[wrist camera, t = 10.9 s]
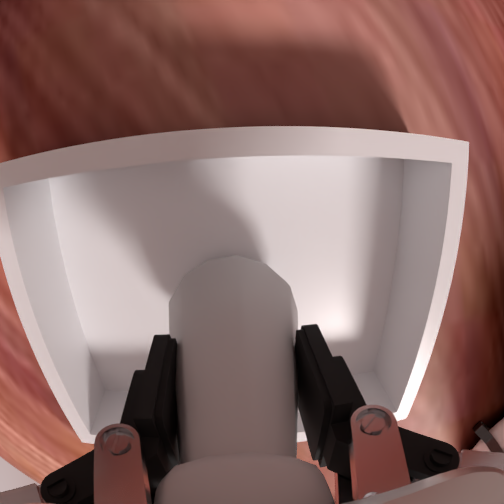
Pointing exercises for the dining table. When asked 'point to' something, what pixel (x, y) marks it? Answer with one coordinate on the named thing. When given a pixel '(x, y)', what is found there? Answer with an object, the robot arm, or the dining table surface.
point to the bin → (232, 247)
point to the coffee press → (490, 437)
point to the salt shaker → (237, 390)
